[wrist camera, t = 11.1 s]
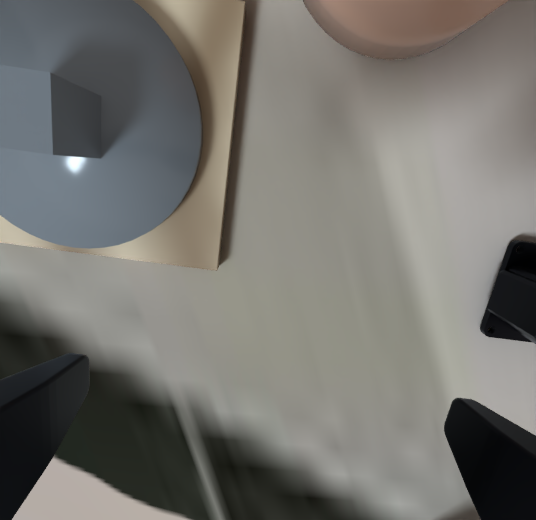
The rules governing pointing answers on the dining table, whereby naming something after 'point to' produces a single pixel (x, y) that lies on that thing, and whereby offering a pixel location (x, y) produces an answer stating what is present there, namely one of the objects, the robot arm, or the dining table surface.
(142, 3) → the board
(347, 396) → the dining table surface
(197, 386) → the dining table surface
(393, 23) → the bowl
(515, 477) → the robot arm
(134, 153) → the lid
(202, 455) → the dining table surface
